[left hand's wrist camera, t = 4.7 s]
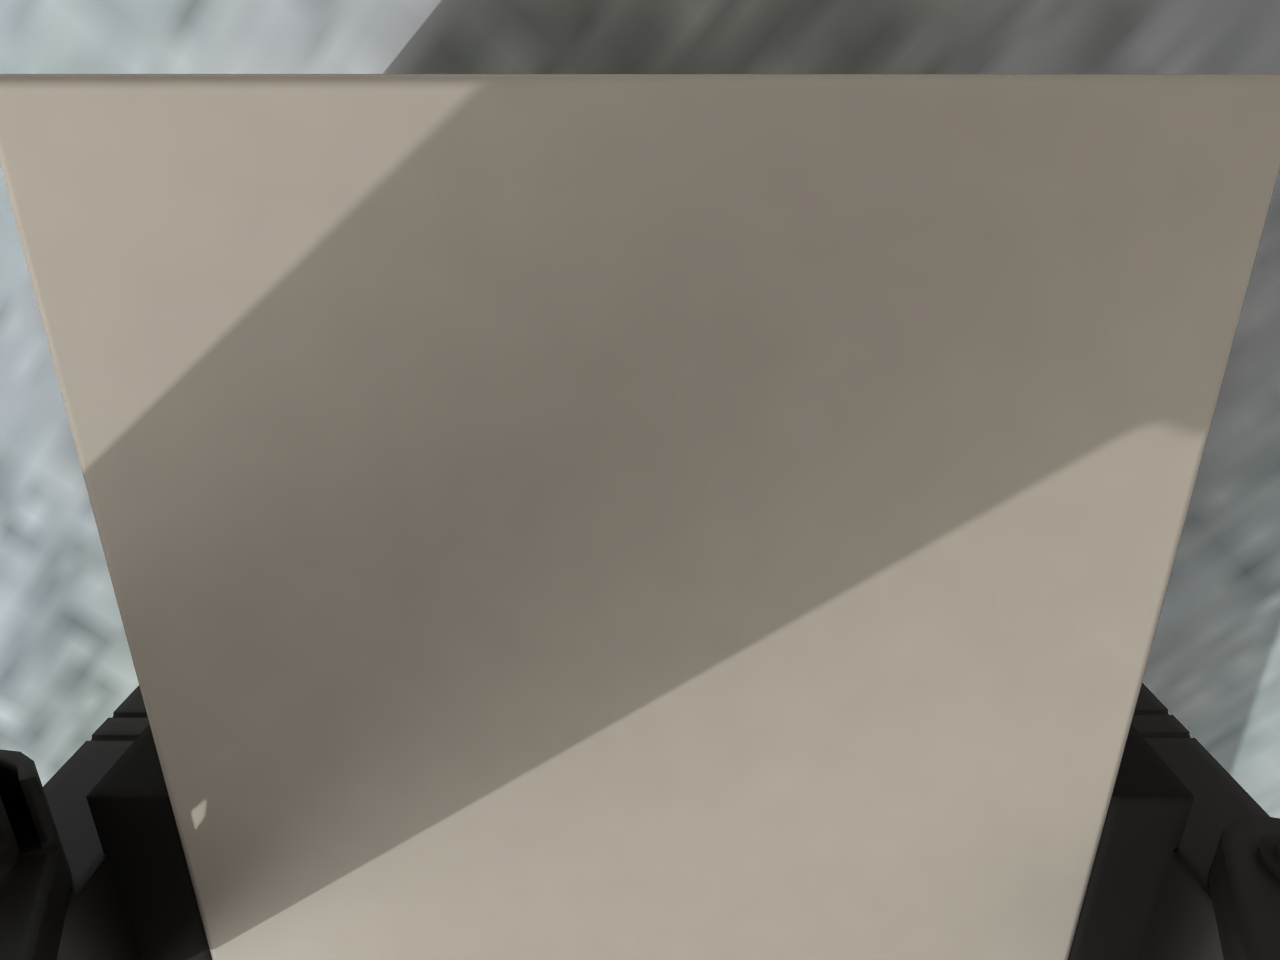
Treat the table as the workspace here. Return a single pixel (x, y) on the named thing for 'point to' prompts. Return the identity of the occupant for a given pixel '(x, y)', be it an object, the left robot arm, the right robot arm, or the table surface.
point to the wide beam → (640, 485)
